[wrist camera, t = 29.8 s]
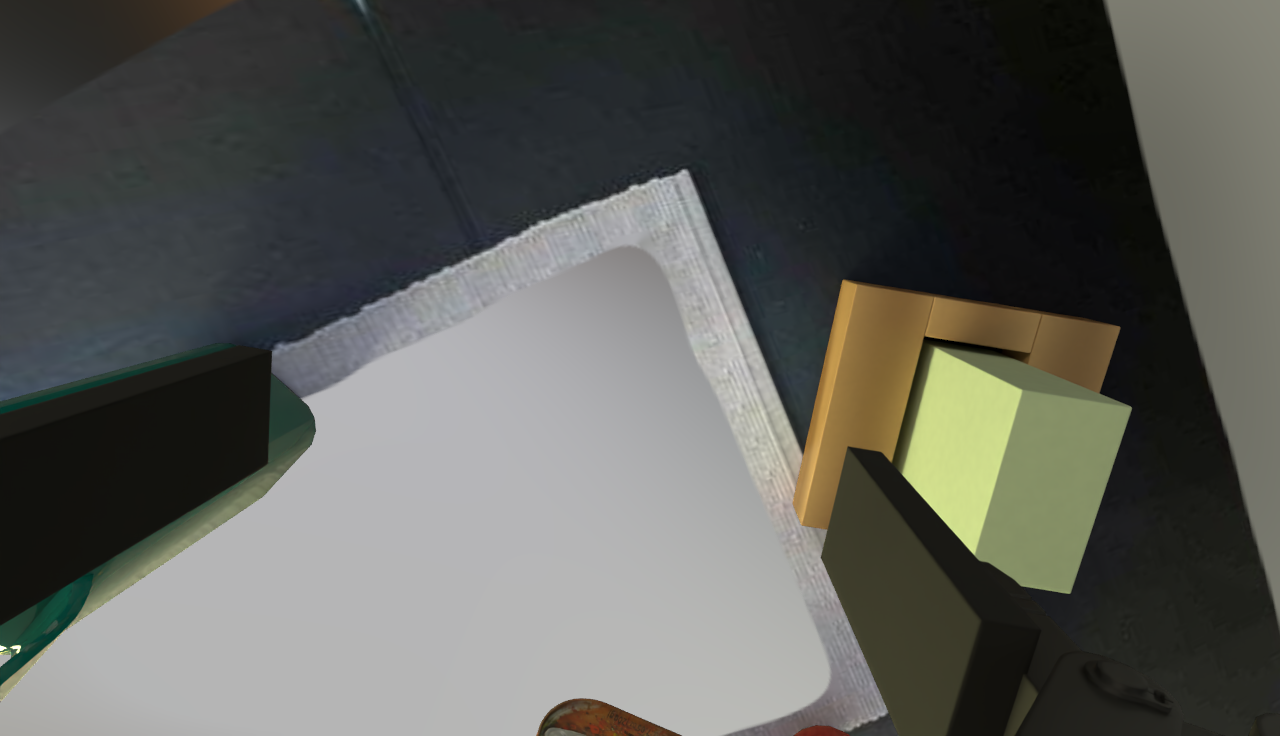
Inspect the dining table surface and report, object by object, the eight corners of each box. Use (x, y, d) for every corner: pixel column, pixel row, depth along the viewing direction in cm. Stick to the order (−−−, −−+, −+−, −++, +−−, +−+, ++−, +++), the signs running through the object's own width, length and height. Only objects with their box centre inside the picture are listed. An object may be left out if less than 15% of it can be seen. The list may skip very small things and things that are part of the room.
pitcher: (147, 420, 42) (-399, 629, 21) (227, 326, 40) (-275, 448, 19) (267, 524, 43) (-131, 823, 22) (349, 437, 42) (6, 668, 20)
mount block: (792, 504, 41) (801, 525, 38) (842, 279, 38) (856, 283, 35) (1017, 541, 41) (1043, 566, 38) (1086, 318, 38) (1121, 326, 35)
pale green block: (882, 474, 41) (967, 577, 29) (916, 338, 39) (1021, 389, 27) (956, 486, 40) (1071, 594, 29) (993, 350, 39) (1133, 407, 27)
